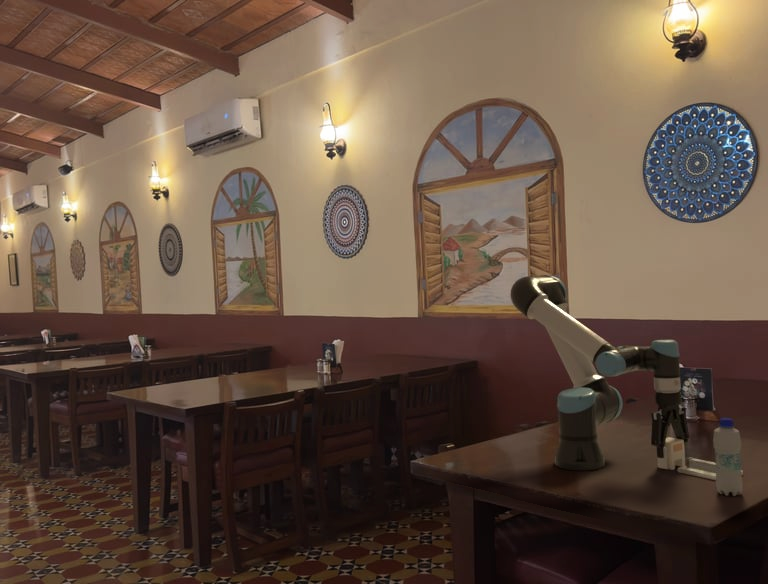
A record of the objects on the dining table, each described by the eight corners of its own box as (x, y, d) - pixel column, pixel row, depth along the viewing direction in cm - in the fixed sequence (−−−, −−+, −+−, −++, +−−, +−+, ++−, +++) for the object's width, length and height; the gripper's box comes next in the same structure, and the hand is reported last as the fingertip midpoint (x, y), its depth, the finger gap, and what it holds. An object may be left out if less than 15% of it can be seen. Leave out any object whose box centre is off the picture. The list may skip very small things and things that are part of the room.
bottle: (735, 489, 186) (731, 414, 186) (749, 496, 180) (745, 419, 179) (710, 490, 186) (706, 416, 186) (723, 498, 179) (719, 421, 179)
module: (672, 469, 207) (671, 443, 207) (658, 466, 212) (656, 440, 212) (685, 466, 211) (683, 439, 210) (670, 462, 215) (669, 437, 215)
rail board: (722, 481, 193) (721, 469, 193) (677, 471, 205) (677, 460, 205) (743, 475, 198) (742, 463, 198) (698, 465, 210) (697, 454, 210)
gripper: (656, 396, 202) (661, 474, 202) (699, 387, 213) (703, 461, 213) (635, 394, 209) (639, 469, 209) (677, 385, 220) (681, 457, 220)
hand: (671, 465), depth 211 cm, fingers open, 8 cm apart
